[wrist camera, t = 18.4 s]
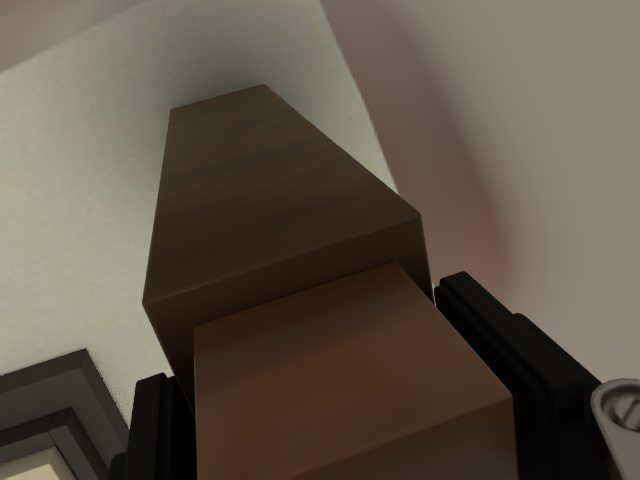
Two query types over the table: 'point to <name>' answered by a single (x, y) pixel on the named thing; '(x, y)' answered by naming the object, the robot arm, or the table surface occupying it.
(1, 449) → the button base
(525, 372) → the robot arm
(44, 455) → the beige block
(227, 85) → the table surface
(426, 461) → the block
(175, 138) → the stand
